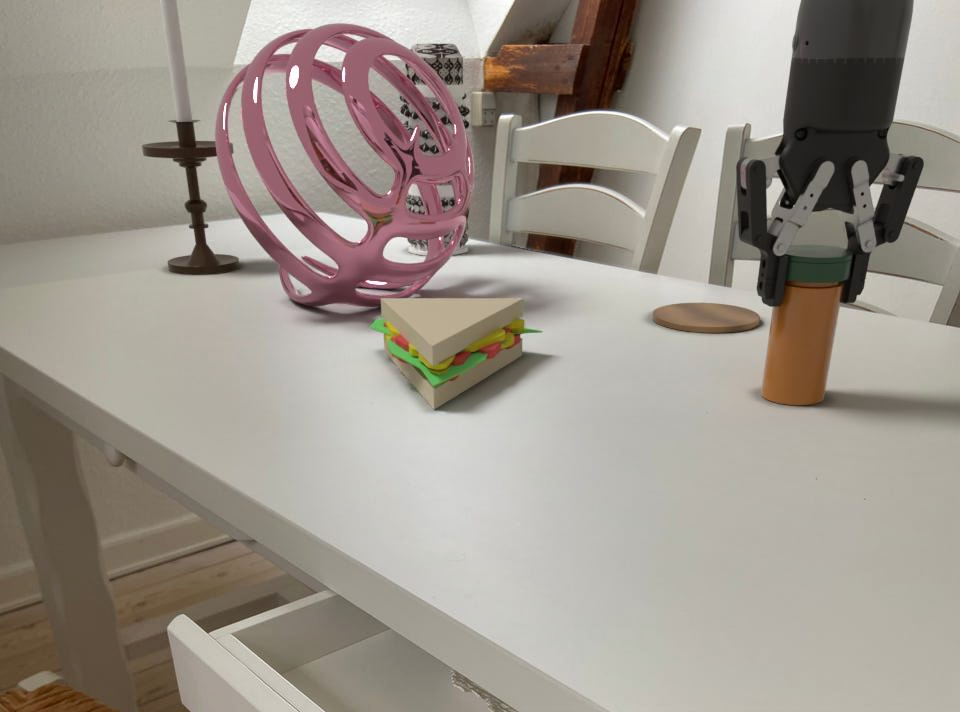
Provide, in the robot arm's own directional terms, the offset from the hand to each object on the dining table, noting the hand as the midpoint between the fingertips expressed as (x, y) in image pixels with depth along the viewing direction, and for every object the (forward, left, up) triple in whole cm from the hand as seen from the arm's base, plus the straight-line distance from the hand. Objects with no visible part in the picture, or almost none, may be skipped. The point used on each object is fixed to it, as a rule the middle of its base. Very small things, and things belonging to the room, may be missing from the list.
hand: (808, 302), depth 78 cm
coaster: (-12, -24, -7) cm, 28 cm away
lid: (0, 0, +3) cm, 3 cm away
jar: (0, 0, -7) cm, 7 cm away
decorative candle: (-8, -75, -8) cm, 76 cm away
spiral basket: (+15, -51, -8) cm, 54 cm away
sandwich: (+22, -21, -8) cm, 31 cm away
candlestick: (+24, -80, -8) cm, 84 cm away
